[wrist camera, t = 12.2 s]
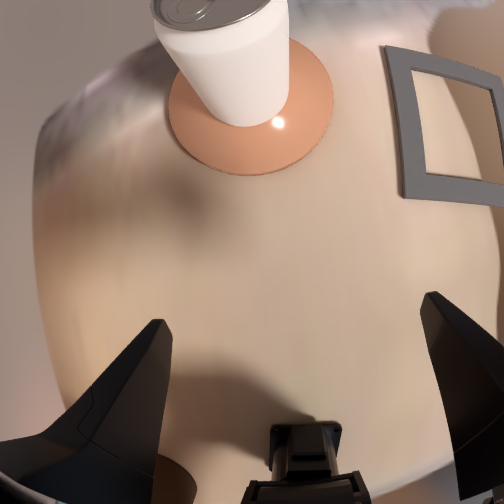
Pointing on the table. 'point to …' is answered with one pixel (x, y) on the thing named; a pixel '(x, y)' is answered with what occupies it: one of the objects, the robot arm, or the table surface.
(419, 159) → the gray square frame
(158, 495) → the olive oil
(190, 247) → the table surface
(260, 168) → the plate
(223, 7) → the can
